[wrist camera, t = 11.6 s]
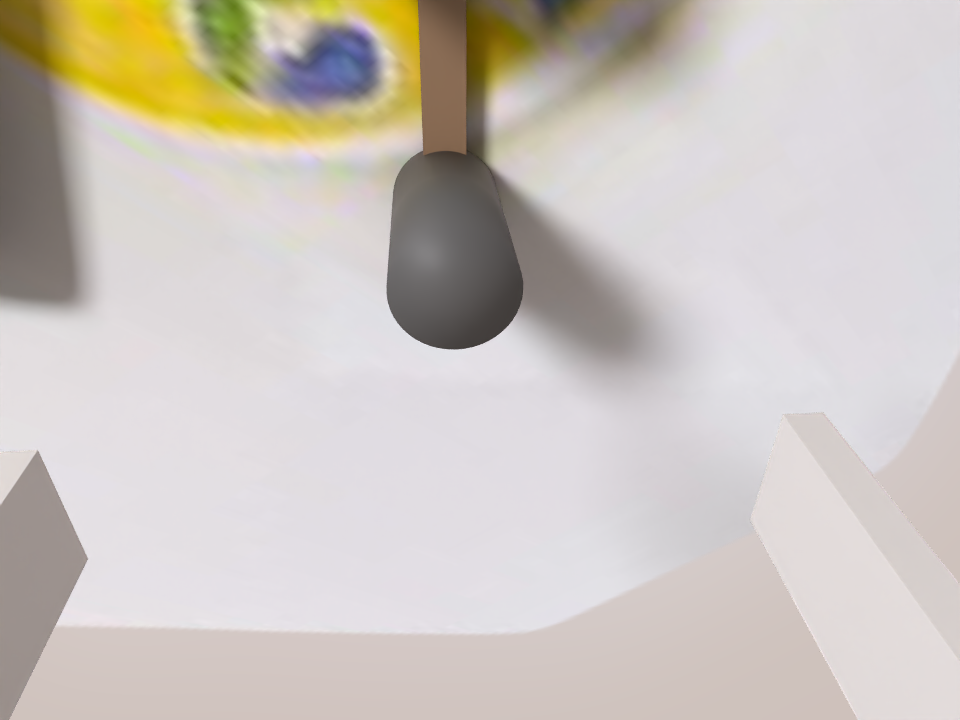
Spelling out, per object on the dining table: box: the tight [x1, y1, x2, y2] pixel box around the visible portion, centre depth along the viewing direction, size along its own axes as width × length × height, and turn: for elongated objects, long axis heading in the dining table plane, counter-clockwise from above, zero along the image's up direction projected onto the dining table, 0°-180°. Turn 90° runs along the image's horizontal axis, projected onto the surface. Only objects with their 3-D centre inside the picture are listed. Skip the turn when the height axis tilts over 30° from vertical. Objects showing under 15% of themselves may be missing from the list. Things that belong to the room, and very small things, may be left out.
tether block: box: [387, 0, 523, 349], centre depth 23 cm, size 19×7×9 cm, turn 179°
